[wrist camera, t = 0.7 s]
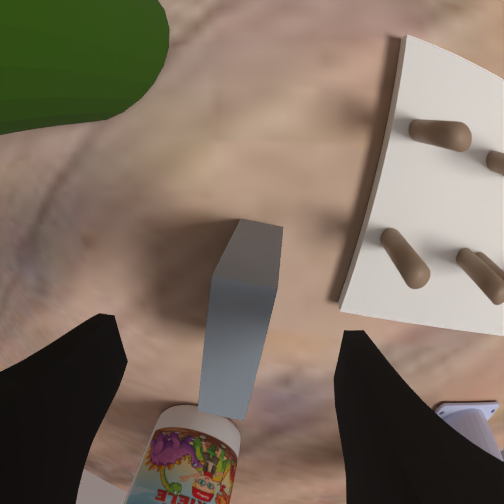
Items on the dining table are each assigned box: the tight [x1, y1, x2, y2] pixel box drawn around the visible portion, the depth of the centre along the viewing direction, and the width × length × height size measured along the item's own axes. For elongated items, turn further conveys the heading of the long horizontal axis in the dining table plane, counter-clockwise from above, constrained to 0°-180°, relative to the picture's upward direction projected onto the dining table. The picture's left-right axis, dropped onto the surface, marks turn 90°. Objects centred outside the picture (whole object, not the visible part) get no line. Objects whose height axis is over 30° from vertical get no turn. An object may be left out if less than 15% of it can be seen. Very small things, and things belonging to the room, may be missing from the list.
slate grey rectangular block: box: [198, 219, 283, 421], centre depth 16 cm, size 8×2×7 cm, turn 171°
